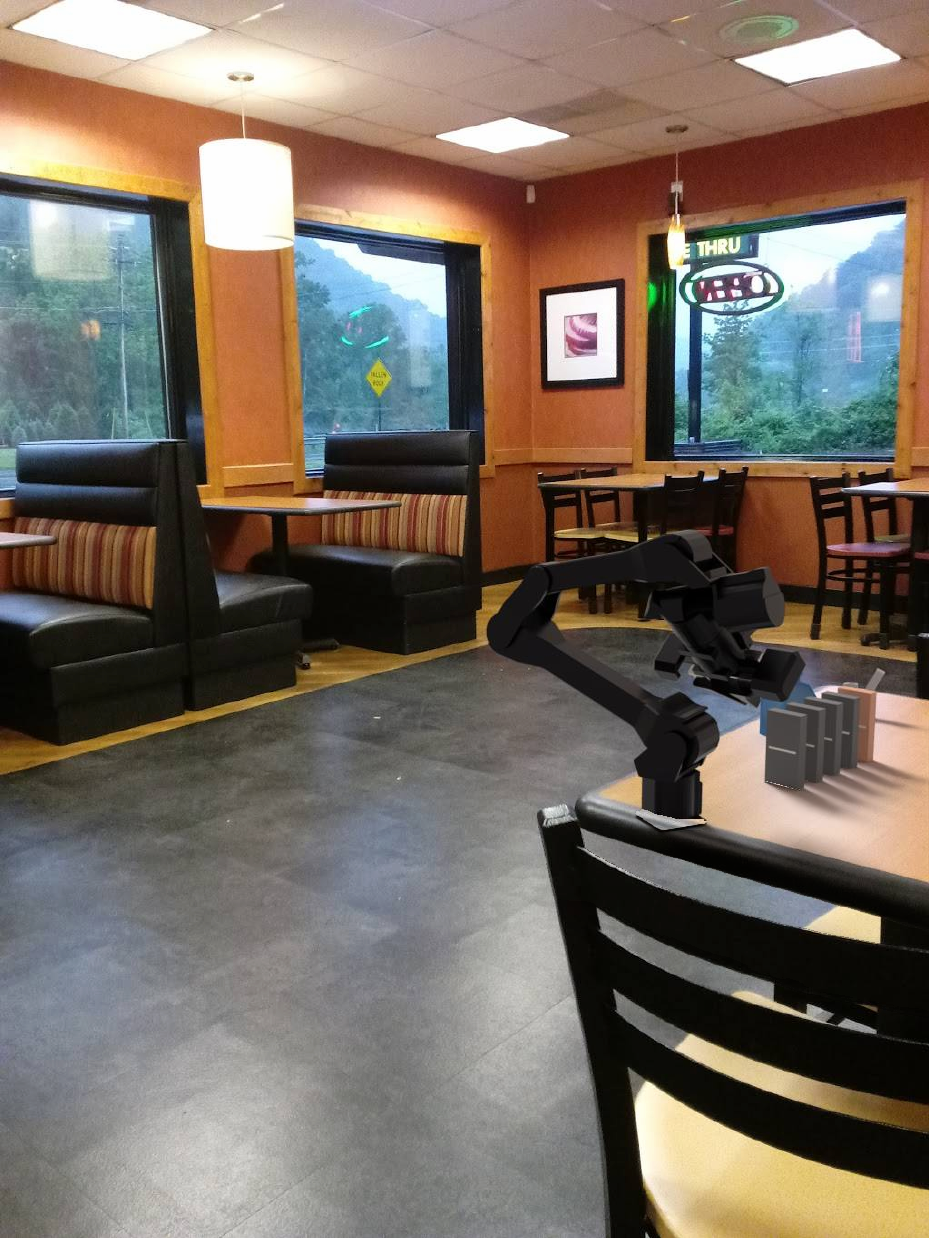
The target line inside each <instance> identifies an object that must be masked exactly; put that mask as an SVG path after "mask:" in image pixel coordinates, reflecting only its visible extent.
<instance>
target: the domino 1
mask: <svg viewBox="0 0 929 1238" xmlns="http://www.w3.org/2000/svg"><path fill="white" fill-rule="evenodd" d="M806 735H807V714H802V713H797V712H792V711H788V710H783V709H778V708H771V709H768V710H767V725H766V736H765V754H764V755H765V757H764V779H763V780H764V781H768V782H772V783H776V784H780V785H783V786H787V787H789V788H793V789H796V790H798V791H800V790H799V789H801V790H803V789H805V782H806V781H805V758H806ZM789 788H788V789H789ZM802 788H803V789H802ZM793 789H792V790H793ZM796 790H795V791H796Z"/></svg>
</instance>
